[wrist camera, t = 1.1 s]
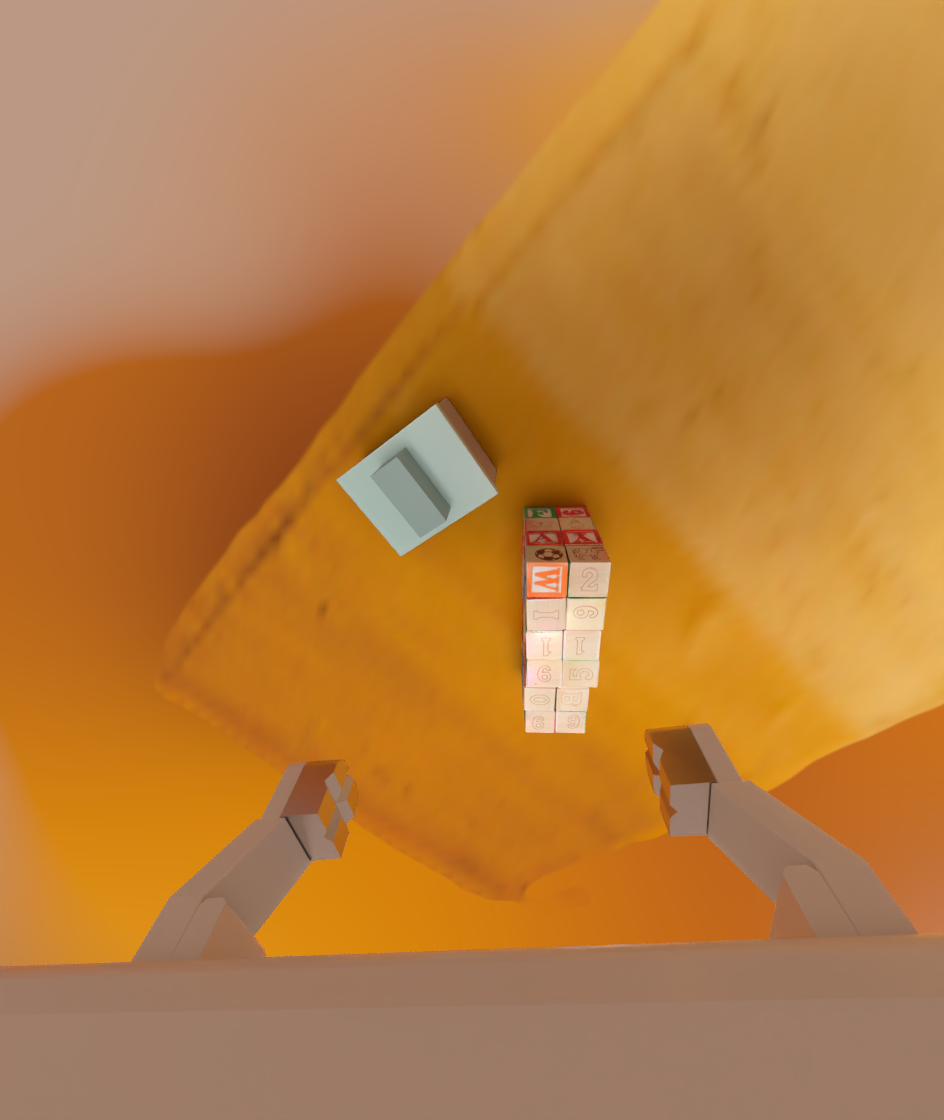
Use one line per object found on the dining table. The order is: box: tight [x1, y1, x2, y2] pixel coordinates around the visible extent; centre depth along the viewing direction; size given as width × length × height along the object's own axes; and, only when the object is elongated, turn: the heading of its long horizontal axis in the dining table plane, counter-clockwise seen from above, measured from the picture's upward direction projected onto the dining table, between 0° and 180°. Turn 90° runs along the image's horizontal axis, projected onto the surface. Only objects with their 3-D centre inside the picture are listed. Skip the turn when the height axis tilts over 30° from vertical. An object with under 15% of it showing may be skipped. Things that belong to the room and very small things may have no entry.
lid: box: [336, 403, 498, 556], centre depth 35 cm, size 10×8×5 cm
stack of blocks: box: [521, 506, 611, 733], centre depth 42 cm, size 21×6×12 cm, turn 3°
